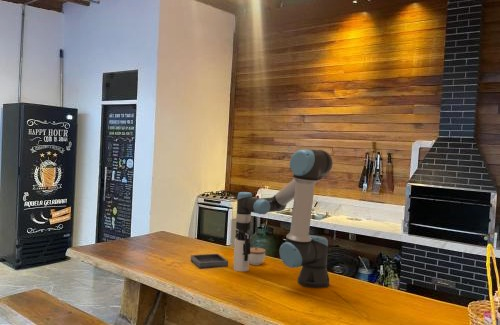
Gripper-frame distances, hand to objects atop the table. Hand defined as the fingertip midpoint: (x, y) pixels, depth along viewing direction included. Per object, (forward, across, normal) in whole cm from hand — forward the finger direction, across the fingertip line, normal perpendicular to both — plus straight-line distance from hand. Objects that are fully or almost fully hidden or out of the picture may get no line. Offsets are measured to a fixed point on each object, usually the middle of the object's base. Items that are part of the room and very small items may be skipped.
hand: (241, 264), depth 225 cm
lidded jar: (+3, +8, -12) cm, 15 cm away
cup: (+3, 0, 0) cm, 3 cm away
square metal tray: (+3, +14, +13) cm, 19 cm away
